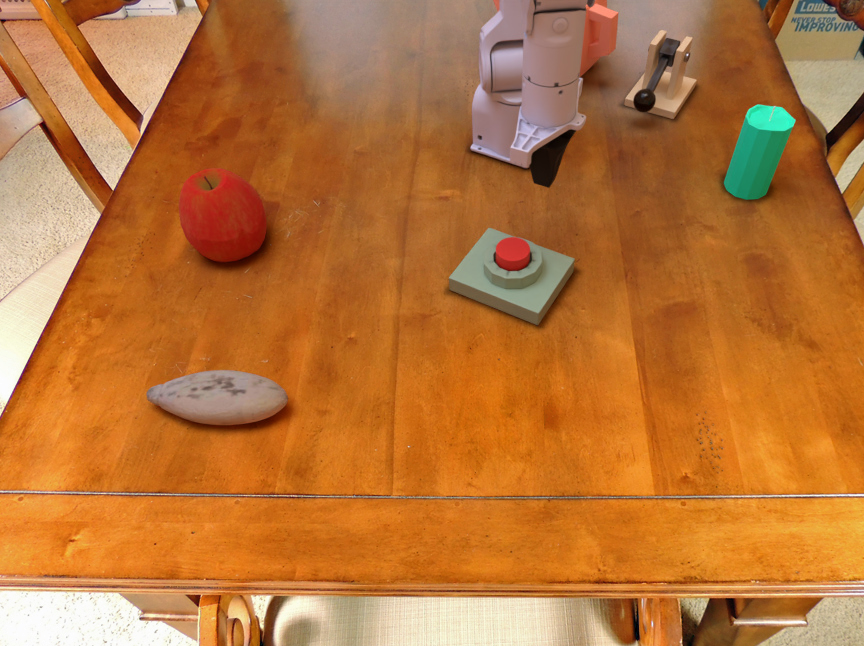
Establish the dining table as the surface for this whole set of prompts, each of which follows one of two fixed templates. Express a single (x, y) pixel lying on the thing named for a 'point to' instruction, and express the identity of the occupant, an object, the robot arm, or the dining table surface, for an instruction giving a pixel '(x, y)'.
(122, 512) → the dining table surface
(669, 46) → the lever
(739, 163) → the candle
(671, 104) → the bracket
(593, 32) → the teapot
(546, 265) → the button block
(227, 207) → the apple
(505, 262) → the button
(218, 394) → the decorative stone
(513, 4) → the robot arm
